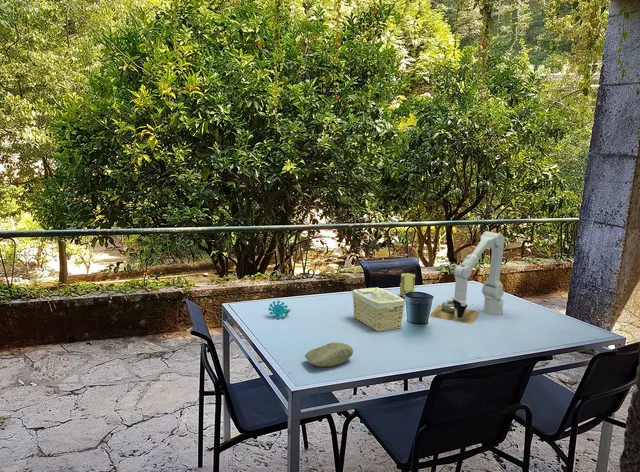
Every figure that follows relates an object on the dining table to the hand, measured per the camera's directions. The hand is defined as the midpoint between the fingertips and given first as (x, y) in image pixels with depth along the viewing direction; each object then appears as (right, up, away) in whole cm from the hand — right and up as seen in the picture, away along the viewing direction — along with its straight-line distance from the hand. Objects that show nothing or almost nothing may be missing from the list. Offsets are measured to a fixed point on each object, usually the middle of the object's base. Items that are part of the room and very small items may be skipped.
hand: (458, 315), depth 263 cm
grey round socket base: (0, +1, +12) cm, 12 cm away
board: (0, -1, +7) cm, 7 cm away
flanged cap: (0, -1, 0) cm, 1 cm away
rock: (-66, -9, -61) cm, 90 cm away
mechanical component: (-20, +4, +38) cm, 43 cm away
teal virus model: (-90, 0, -6) cm, 90 cm away
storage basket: (-42, -2, -10) cm, 44 cm away
